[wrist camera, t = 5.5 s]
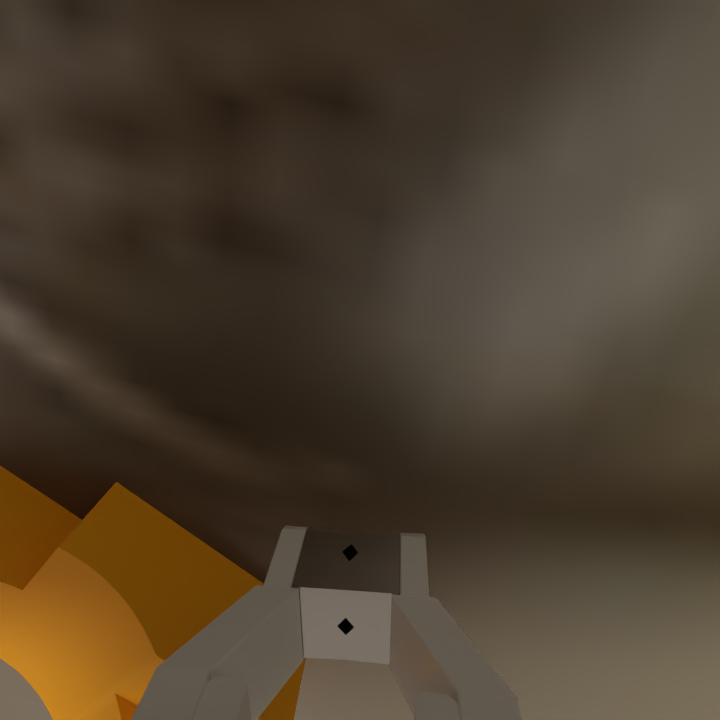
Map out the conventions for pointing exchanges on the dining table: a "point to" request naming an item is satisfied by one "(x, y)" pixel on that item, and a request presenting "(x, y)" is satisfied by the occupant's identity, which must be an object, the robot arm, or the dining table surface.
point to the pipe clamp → (106, 599)
